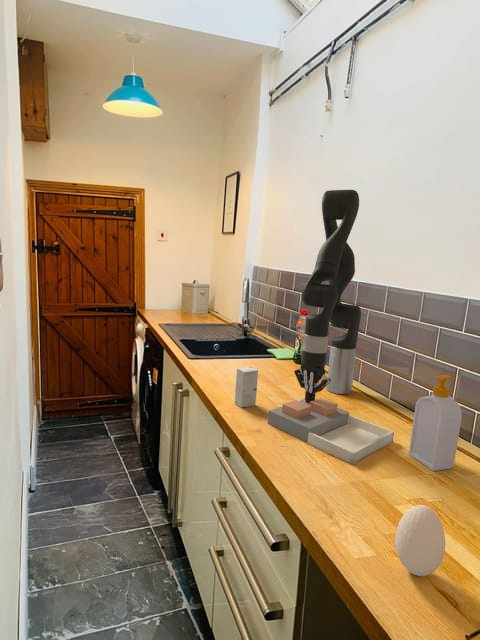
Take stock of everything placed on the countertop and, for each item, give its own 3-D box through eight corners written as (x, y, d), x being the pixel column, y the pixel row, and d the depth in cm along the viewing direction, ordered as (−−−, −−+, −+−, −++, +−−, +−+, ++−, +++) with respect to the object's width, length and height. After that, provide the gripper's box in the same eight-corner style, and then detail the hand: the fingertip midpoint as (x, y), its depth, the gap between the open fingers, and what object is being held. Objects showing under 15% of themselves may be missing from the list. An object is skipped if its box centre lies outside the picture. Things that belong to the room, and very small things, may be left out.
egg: (431, 597, 63) (442, 529, 61) (384, 571, 68) (393, 506, 66) (445, 571, 69) (456, 508, 67) (401, 548, 73) (410, 488, 71)
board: (308, 408, 137) (309, 397, 136) (348, 424, 126) (349, 412, 125) (267, 423, 123) (268, 410, 122) (307, 442, 112) (309, 428, 112)
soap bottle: (455, 468, 103) (470, 381, 99) (434, 472, 101) (448, 382, 97) (428, 451, 112) (441, 370, 108) (408, 454, 109) (420, 371, 105)
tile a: (320, 405, 129) (321, 397, 129) (336, 411, 125) (337, 403, 125) (309, 409, 125) (309, 401, 125) (325, 416, 121) (326, 408, 121)
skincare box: (241, 408, 134) (243, 372, 132) (233, 403, 137) (236, 368, 135) (256, 405, 137) (259, 370, 135) (248, 400, 141) (251, 366, 139)
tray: (349, 424, 126) (350, 415, 126) (392, 441, 116) (394, 431, 116) (307, 443, 112) (308, 432, 111) (352, 464, 102) (353, 453, 101)
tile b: (294, 407, 126) (295, 400, 126) (310, 414, 122) (311, 406, 121) (281, 412, 122) (282, 404, 122) (297, 418, 118) (298, 410, 117)
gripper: (340, 352, 123) (334, 407, 126) (305, 343, 133) (300, 394, 136) (325, 355, 118) (319, 412, 121) (290, 345, 128) (285, 398, 131)
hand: (309, 402), depth 129 cm, fingers closed
